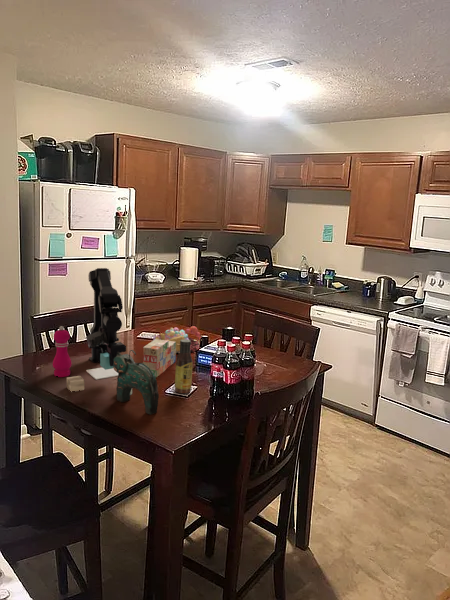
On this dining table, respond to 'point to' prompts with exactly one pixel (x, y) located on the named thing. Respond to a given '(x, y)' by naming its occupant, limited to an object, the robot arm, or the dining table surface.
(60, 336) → the pepper mill
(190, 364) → the sauce bottle
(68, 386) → the birch block
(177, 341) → the pastel sphere sculpture
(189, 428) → the dining table surface
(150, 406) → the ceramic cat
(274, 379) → the dining table surface
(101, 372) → the white mat
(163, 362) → the stack of blocks
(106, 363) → the teal block
